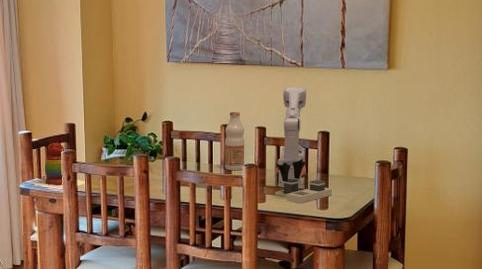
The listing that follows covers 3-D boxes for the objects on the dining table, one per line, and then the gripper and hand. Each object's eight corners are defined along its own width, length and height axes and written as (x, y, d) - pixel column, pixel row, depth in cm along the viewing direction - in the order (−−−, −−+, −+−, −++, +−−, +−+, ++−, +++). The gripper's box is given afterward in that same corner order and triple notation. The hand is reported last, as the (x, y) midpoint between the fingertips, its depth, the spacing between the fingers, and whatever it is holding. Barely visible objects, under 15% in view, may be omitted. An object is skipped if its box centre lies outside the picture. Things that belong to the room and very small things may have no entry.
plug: (283, 194, 285) (283, 180, 284) (290, 192, 288) (290, 178, 287) (291, 196, 282) (291, 181, 281) (298, 194, 285) (298, 180, 284)
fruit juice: (221, 169, 340) (221, 112, 336) (230, 166, 348) (231, 111, 344) (238, 171, 336) (238, 114, 332) (247, 168, 344) (247, 112, 340)
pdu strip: (286, 201, 274) (286, 193, 274) (317, 193, 289) (318, 186, 288) (300, 204, 270) (300, 196, 269) (331, 196, 284) (331, 189, 283)
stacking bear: (59, 185, 300) (58, 145, 298) (39, 183, 304) (38, 143, 301) (73, 181, 310) (72, 141, 308) (54, 179, 314) (53, 140, 311)
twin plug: (309, 195, 283) (310, 181, 282) (316, 194, 286) (316, 179, 285) (318, 197, 280) (318, 182, 279) (324, 195, 283) (324, 181, 282)
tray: (275, 195, 285) (275, 192, 284) (289, 192, 291) (289, 188, 291) (292, 199, 278) (292, 195, 278) (306, 196, 285) (306, 192, 285)
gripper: (287, 150, 274) (286, 184, 276) (310, 146, 284) (309, 179, 286) (274, 148, 279) (273, 181, 281) (297, 144, 289) (296, 176, 291)
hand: (291, 180), depth 284 cm, fingers open, 7 cm apart
